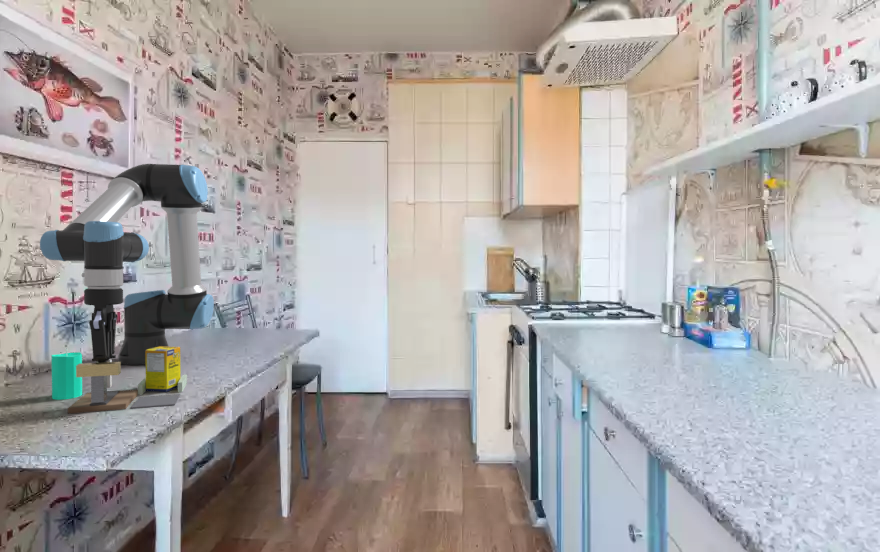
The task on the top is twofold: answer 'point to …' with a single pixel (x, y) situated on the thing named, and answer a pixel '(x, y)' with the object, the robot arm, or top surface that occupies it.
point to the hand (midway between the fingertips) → (104, 387)
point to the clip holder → (181, 385)
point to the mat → (156, 401)
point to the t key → (98, 377)
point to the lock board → (113, 402)
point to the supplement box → (162, 368)
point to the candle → (66, 376)
